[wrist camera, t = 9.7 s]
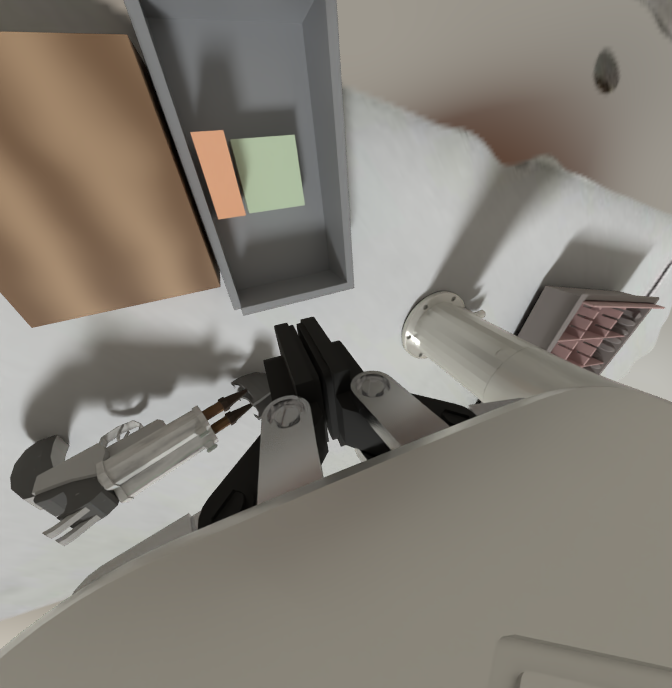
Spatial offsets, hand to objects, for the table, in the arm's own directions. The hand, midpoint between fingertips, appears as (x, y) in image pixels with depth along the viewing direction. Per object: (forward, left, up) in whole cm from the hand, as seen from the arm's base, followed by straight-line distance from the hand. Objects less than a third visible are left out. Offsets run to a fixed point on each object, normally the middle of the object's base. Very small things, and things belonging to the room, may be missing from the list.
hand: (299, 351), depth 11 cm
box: (-3, -6, -22) cm, 23 cm away
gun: (+16, +18, -22) cm, 32 cm away
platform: (+11, -6, -22) cm, 25 cm away
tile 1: (-4, -7, -19) cm, 20 cm away
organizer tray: (-62, +39, -22) cm, 76 cm away
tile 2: (+2, -7, -19) cm, 20 cm away
